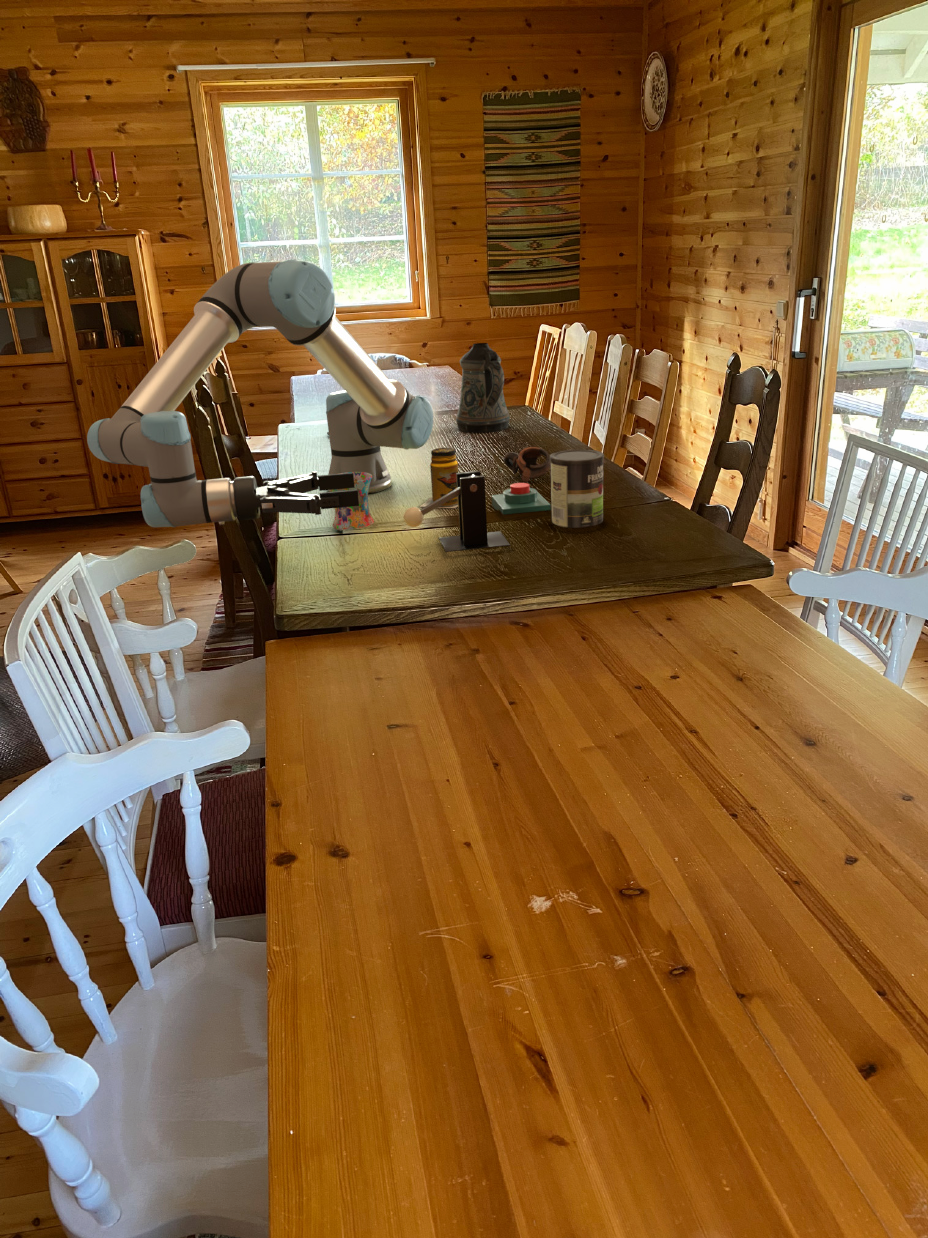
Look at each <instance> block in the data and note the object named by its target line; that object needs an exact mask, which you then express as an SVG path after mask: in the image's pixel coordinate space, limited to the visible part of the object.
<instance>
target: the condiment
mask: <svg viewBox="0 0 928 1238" xmlns="http://www.w3.org/2000/svg"><path fill="white" fill-rule="evenodd" d="M430 454H431V457H430V461H431V462H430V464H429V468H430V483H431V497H428V499H427V500H426V501H425V502H424V503H422V504H421V505H419V508H424V507H425V506H427V505H429V504H431V503H432V502H434V501H436V500H438V499H439V498H441V497H443V496H445V495H446V494H448V493H450V492H452V491H453V490H455V489H457V479H456V473H459V462H458V461H457V456H456V449H455V448H452V447H438V448H434V449H432V450H431V451H430ZM437 508H438V509H456V508H458V496H456V497H455V498H453V499H451V500H449V501H448V502H446V503H444V504H442V505H441V506H439V507H437ZM437 508H436V509H437Z"/></svg>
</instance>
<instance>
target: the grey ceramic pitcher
mask: <svg viewBox="0 0 928 1238" xmlns="http://www.w3.org/2000/svg"><path fill="white" fill-rule="evenodd" d="M501 362H502V359H501V357H500V355H499V354H498V353H497V352H496V351H495V350H494V349H492V348H491V347H490V346H489V342H476V343H473V344H472V346H471V348H470V350H469V351H467V352H466V353H465V354H464V355H463V356H461V358H460V359H459V364H460V368H461V369H462V375H461V387H460V399H459V405H458V411H457V414H456V417H455V421H456V425H457V429H458V431H459V432H464V433H473V434H478V433H480V434H481V433H482V434H485V433H493V432H500V431H504V430H506V429H507V428H509V425H510V424H509V423H510V417H511V416H510V413H509V410H508V408H507V403H506V400H505V395H504V385H505V373H504V369H503V367H502V365H501Z"/></svg>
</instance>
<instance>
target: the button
mask: <svg viewBox="0 0 928 1238" xmlns="http://www.w3.org/2000/svg"><path fill="white" fill-rule="evenodd" d="M509 486H510V488H509V489H510V490H511V494H526V493H530V488H531V486H530V484H529V483H528V482H515V483H511V484H510V485H509Z"/></svg>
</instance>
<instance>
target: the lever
mask: <svg viewBox="0 0 928 1238" xmlns="http://www.w3.org/2000/svg"><path fill="white" fill-rule="evenodd" d="M473 476H475V475H474V474H472V475H470V476H469V477H473ZM460 494H461V492H460V487H458V488H457V489H455V490H453V491H452V492H450V493H448V494H446V495H445V496H443V497H441V498H439V499H438V500H436V501H434V502H432V503H431V504H429V505H427V506H425V507H421V508H419V507H417V506H416V507H415V506H412V507H408V508H407V509H406V510H405V511H404V514H403V520H404V522H405V525H407V526H408V527H410V528H411V527H412V528H417V527H418V526H420V525H421V524H422V523H423V521H424V516H425V515H427V514H428V513H430V512H432V511H434V510H435V509H437V507H439V506H441V505H442V504H444V503H446V502H448V501H449V500H451V499H453V498H455V497H456V496H458V495H460Z"/></svg>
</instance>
